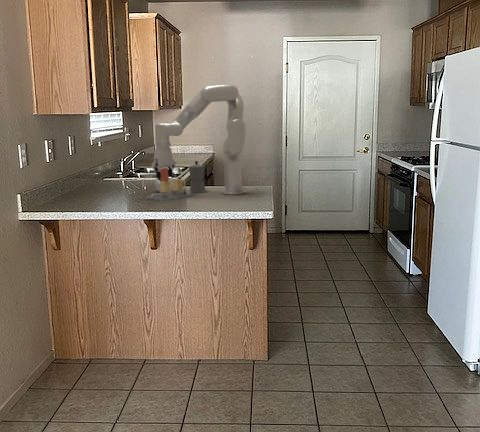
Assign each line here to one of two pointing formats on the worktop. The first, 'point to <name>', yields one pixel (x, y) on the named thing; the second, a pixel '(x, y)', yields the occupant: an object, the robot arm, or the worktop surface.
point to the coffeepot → (196, 178)
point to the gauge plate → (178, 195)
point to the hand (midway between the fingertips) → (164, 177)
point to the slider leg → (165, 181)
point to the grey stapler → (158, 184)
